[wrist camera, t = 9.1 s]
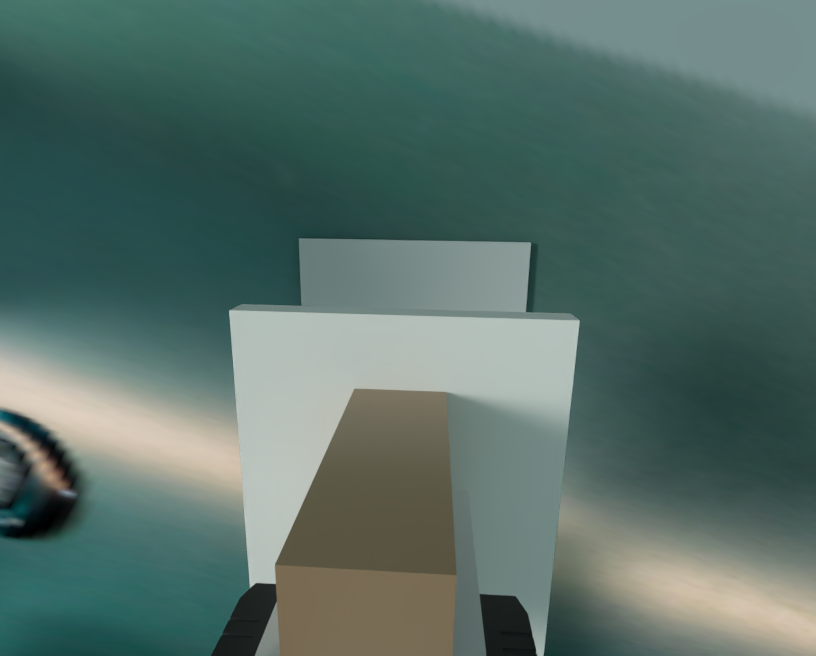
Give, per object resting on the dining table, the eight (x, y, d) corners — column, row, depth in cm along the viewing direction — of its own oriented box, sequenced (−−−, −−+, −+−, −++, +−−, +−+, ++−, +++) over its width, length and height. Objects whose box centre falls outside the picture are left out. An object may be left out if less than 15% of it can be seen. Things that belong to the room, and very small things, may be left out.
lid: (530, 605, 20) (625, 1004, 10) (275, 590, 21) (122, 954, 11) (559, 304, 17) (740, 445, 7) (257, 296, 18) (15, 415, 8)
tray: (512, 479, 33) (513, 482, 32) (309, 471, 33) (308, 474, 33) (529, 242, 29) (531, 242, 29) (300, 238, 30) (298, 238, 29)
